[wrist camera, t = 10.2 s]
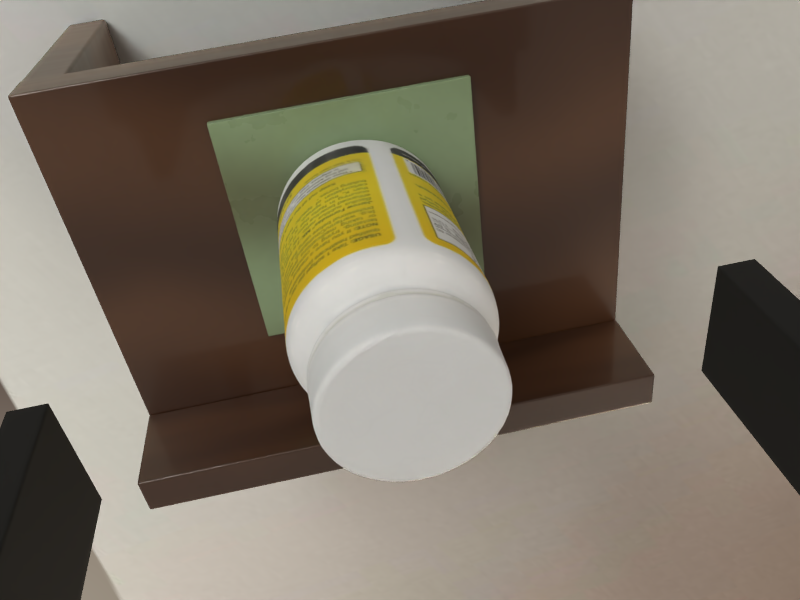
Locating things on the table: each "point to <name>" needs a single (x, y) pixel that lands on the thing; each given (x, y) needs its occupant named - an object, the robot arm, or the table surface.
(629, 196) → the table surface
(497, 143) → the shelf
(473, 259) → the supplement bottle
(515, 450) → the table surface
